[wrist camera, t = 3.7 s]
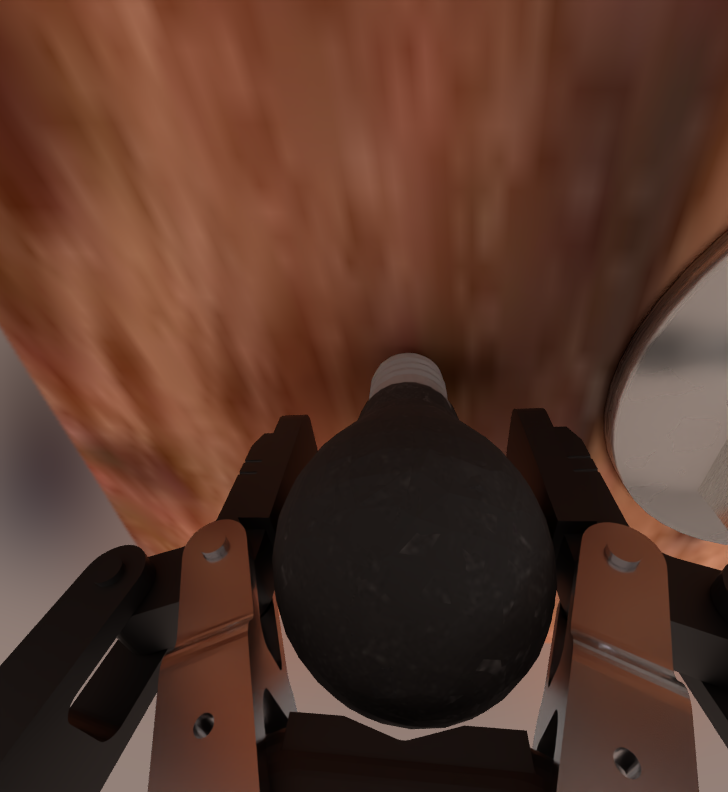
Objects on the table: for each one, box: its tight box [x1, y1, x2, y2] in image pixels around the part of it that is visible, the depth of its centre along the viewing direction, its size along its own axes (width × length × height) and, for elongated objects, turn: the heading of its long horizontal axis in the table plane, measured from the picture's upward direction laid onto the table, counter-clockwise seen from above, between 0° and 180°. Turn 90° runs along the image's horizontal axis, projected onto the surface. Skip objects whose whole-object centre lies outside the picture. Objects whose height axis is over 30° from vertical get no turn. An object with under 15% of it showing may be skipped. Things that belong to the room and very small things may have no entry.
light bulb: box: [272, 353, 557, 729], centre depth 10 cm, size 6×6×10 cm
